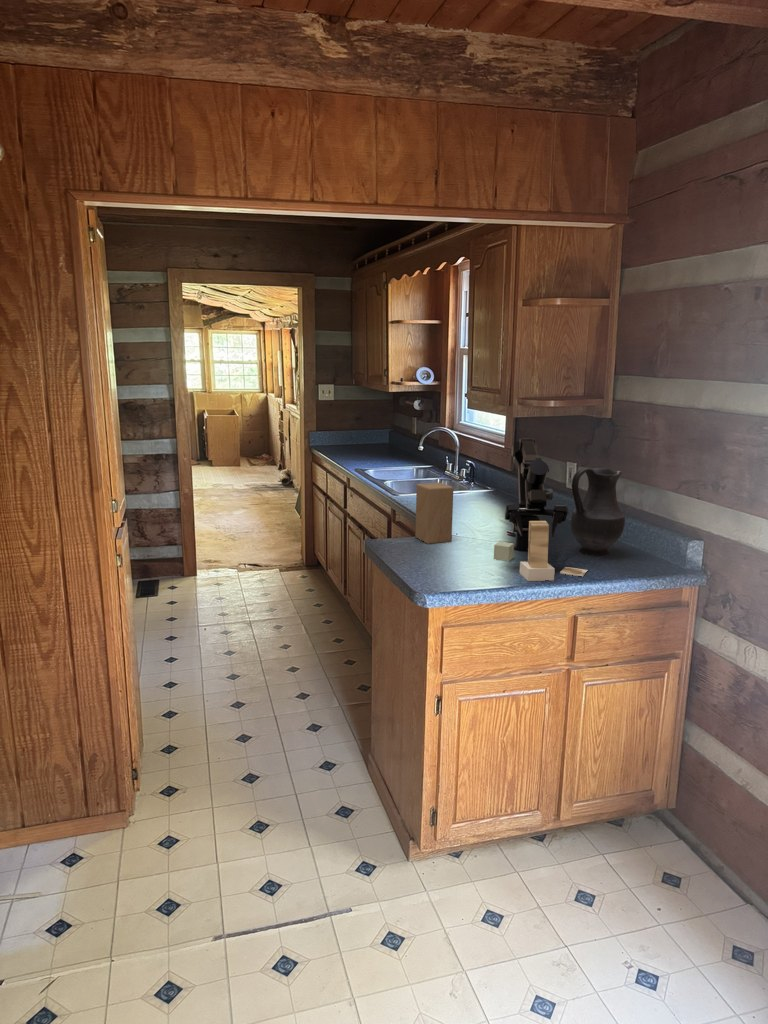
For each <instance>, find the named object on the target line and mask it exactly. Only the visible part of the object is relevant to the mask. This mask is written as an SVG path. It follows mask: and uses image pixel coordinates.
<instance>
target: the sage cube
mask: <svg viewBox="0 0 768 1024" xmlns="http://www.w3.org/2000/svg"><path fill="white" fill-rule="evenodd" d="M514 545H515V543H514V542H513V543H511V542H505V541H498V542H496V543H495V544H494V546H493V560H494V559H496V561H501V562H507V561H508V562H510V561H511V560H513V558H514V550H515V549H514ZM509 560H510V561H509Z"/></svg>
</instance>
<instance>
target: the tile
mask: <svg viewBox="0 0 768 1024" xmlns="http://www.w3.org/2000/svg"><path fill="white" fill-rule="evenodd" d="M587 571H588V569H583V568H577V567H569V566H565V567H564V568H562V570H560V572H559V574H560V575H565V574H566V575H565V576H572V575H573V577H578V576H582V577H581V578H583V577H584V576H585V575H586V574H587V573H588V572H587ZM586 572H587V573H586ZM585 573H586V574H585Z"/></svg>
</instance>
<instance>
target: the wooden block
mask: <svg viewBox="0 0 768 1024" xmlns="http://www.w3.org/2000/svg"><path fill="white" fill-rule="evenodd" d="M415 498H416V499H415V501H416V502H415V503H416V505H415V534H414V535H415V539H417V538H420V539H421V540H422V541H421V540H420V541H421V542H423V541H424V542H423V543H425V544H426V545H428V544H430V543H431V544H440V543H441V544H442V543H449V542H450V543H451V542H452V538H453V536H452V535H453V515H454V514H453V511H454V510H453V508H454V507H453V506H454V486H452V485H448V484H446V483H442V482H429V483H417V484H416V497H415Z"/></svg>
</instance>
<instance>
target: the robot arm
mask: <svg viewBox="0 0 768 1024" xmlns="http://www.w3.org/2000/svg"><path fill="white" fill-rule="evenodd" d="M510 453H511V457H512V458H513V459H512V460H513V461H512V462H513V463H512V464H514V465H515V467H516V468H517V473H518V474H517V476H518V477H517V479H518V480H517V481H518V503H507V504H506V505H505V510H504V520H505V521H508V522H509V523H511V530H512V532H513V533H515V543H514V550H517V551H518V550H519V551H525V552H526V551H527V552H528V542H529V521H541V519H540V517H541V516H542V517H543V516H544V517H551V526H550V528H551V529H550V535H551V536H550V537H551V538H554V535H555V532H556V528H557V526H558V524H562V523H563V522H565V521H566V520H567V518H568V517H567V516H568V513H569V511H568V510H569V507H567V505H565V504H563V505H562V504H553V508H551V509H550V508H549V509H548V508H546V507H547V502H548V501H552V500H553V499H554V494H553V493H554V491H553V490H554V489H553V488H546V489H545V488H544V485H545V482H546V478H547V476H548V473H550V472H549V471H550V468H549V466H548V464H547V462H545V461H544V459H543V457H541V456H538V444H537V443H536V440H535V438H532V437H531V438H527V437H522V438H520V439H519V440H518V441H516V442H514V443H512V447H511V451H510ZM544 489H545V490H544Z"/></svg>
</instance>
